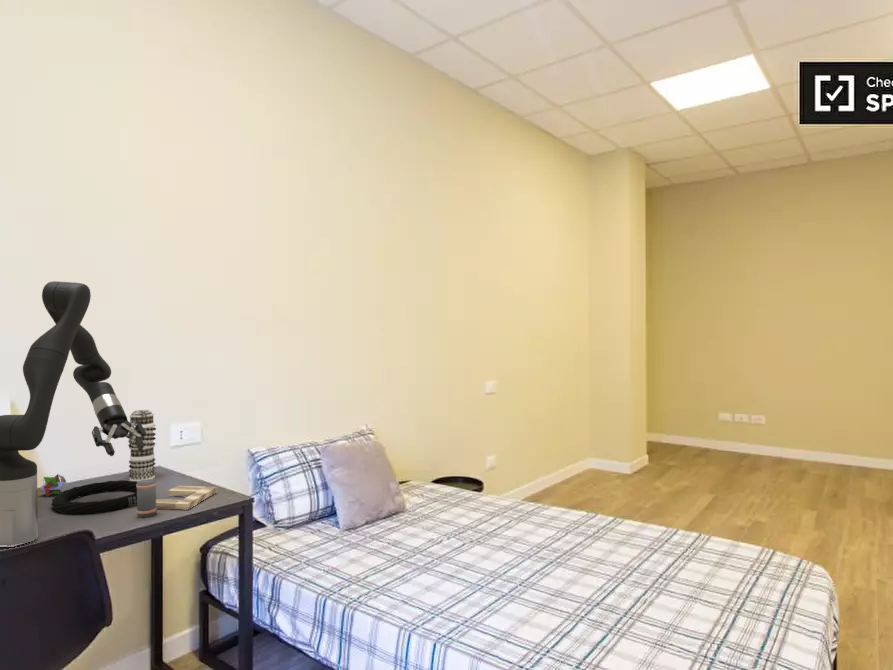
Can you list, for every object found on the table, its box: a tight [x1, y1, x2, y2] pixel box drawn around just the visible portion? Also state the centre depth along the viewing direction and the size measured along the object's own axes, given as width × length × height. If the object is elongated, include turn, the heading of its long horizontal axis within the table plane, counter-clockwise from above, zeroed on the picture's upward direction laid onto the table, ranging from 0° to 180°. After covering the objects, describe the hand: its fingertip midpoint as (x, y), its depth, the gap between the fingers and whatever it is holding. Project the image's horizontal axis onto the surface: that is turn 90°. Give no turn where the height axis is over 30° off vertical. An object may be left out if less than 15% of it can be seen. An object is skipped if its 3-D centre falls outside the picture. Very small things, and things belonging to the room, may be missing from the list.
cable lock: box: [50, 479, 138, 515], centre depth 182 cm, size 28×4×30 cm
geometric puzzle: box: [37, 473, 67, 498], centre depth 188 cm, size 7×7×8 cm
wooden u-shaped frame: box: [156, 485, 218, 511], centre depth 183 cm, size 18×14×2 cm
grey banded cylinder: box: [136, 479, 157, 518], centre depth 169 cm, size 5×5×10 cm
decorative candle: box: [127, 409, 157, 481], centre depth 209 cm, size 9×9×25 cm
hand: (127, 451), depth 176 cm, fingers open, 8 cm apart
